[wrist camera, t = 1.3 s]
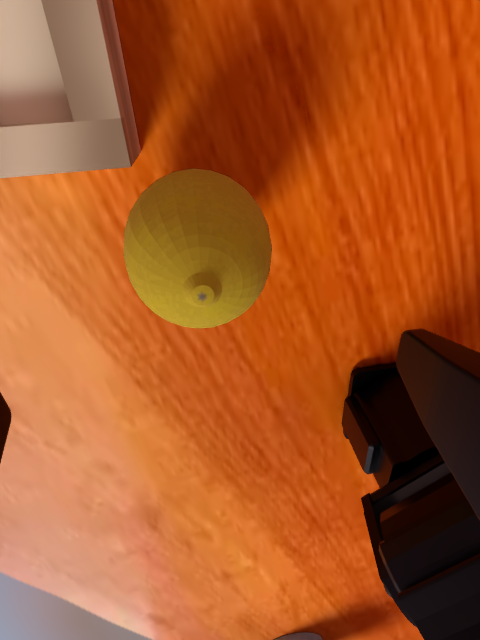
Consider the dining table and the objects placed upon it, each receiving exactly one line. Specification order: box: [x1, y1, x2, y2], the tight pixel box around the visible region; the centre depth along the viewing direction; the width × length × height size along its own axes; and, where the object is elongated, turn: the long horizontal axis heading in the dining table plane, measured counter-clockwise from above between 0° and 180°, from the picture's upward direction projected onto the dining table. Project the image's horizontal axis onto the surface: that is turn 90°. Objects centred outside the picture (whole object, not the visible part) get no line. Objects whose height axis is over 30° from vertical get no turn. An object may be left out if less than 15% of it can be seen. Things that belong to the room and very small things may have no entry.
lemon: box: [124, 168, 272, 328], centre depth 14 cm, size 6×6×8 cm
